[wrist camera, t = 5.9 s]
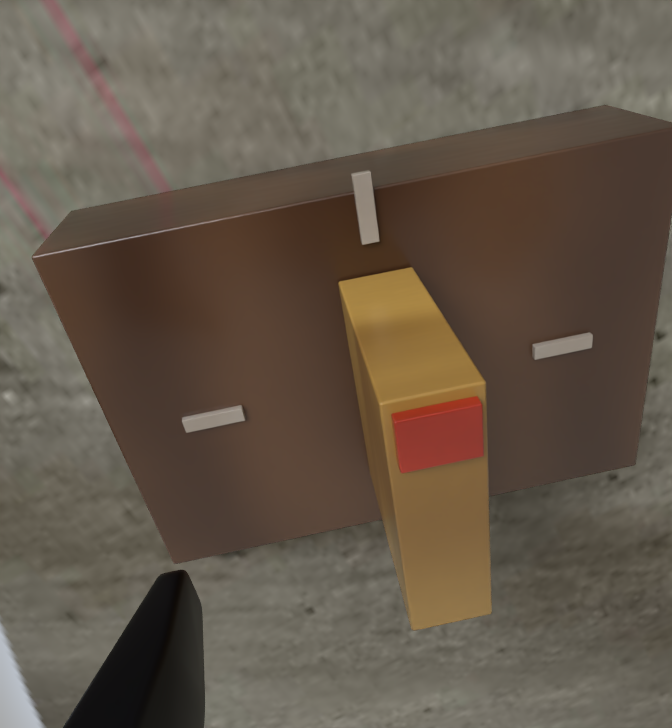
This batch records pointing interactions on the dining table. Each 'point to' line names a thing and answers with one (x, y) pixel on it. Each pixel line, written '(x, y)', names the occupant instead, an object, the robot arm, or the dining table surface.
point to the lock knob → (423, 444)
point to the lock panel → (327, 326)
